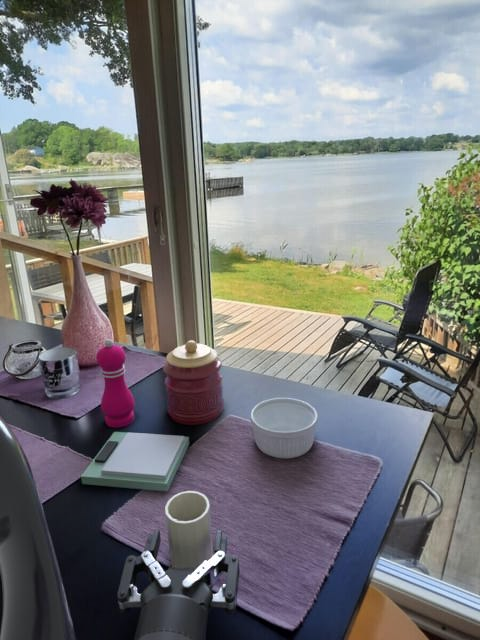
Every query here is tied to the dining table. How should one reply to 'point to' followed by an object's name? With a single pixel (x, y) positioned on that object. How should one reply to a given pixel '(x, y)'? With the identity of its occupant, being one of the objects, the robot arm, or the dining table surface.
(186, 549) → the cup
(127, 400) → the pepper mill
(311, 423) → the ramekin
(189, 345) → the kitchen canister
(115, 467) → the scale
